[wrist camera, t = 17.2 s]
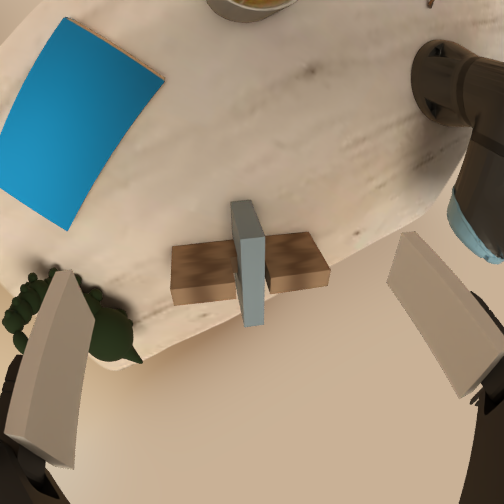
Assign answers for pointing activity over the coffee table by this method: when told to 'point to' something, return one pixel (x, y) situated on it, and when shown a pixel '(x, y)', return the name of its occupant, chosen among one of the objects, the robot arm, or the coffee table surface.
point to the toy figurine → (106, 319)
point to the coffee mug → (247, 9)
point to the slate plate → (249, 261)
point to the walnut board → (225, 264)
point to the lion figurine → (430, 3)
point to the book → (70, 119)
